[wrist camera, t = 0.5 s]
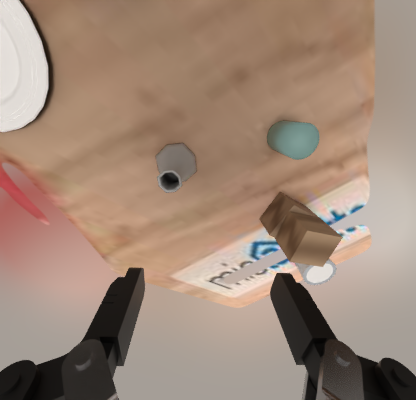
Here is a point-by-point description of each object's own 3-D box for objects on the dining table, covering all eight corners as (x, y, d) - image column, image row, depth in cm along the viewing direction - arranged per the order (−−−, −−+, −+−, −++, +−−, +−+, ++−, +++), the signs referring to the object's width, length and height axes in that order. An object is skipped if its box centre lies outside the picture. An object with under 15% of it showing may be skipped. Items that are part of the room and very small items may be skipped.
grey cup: (282, 250, 44) (297, 273, 37) (308, 233, 42) (328, 255, 36) (296, 266, 46) (312, 290, 40) (321, 251, 44) (342, 274, 38)
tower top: (288, 210, 32) (307, 230, 27) (318, 217, 33) (342, 237, 28) (274, 238, 35) (289, 261, 29) (303, 243, 36) (322, 267, 30)
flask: (203, 172, 35) (205, 193, 25) (168, 188, 35) (159, 213, 26) (185, 135, 32) (181, 144, 23) (148, 153, 32) (130, 168, 23)
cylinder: (278, 115, 31) (300, 115, 25) (301, 130, 32) (326, 134, 26) (261, 142, 33) (277, 149, 26) (283, 155, 34) (303, 165, 28)
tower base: (279, 191, 37) (294, 205, 32) (305, 206, 39) (323, 220, 34) (259, 218, 40) (269, 235, 34) (284, 230, 41) (297, 248, 36)
